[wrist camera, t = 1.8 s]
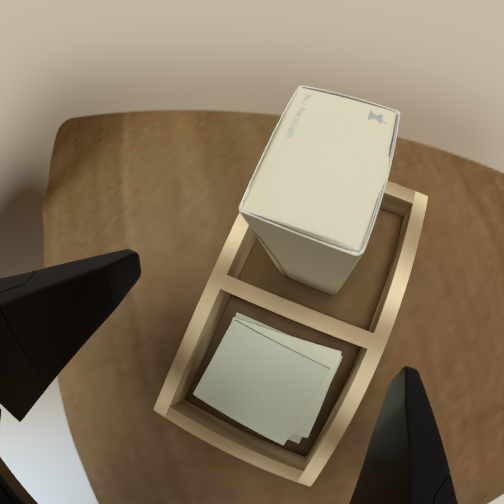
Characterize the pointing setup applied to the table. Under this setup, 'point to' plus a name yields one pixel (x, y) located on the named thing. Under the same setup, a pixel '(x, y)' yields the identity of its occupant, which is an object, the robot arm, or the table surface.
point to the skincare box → (321, 185)
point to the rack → (370, 341)
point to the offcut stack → (268, 379)
